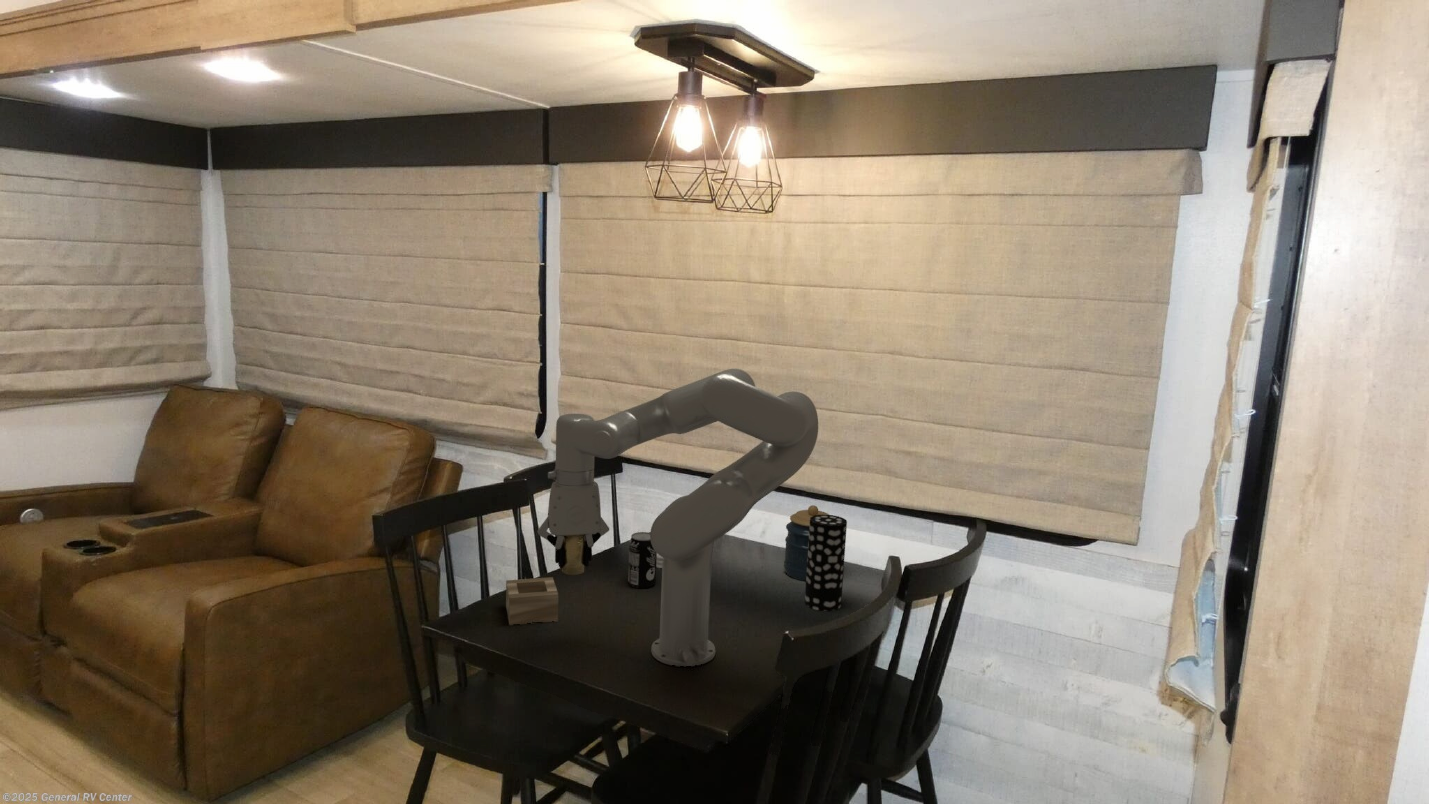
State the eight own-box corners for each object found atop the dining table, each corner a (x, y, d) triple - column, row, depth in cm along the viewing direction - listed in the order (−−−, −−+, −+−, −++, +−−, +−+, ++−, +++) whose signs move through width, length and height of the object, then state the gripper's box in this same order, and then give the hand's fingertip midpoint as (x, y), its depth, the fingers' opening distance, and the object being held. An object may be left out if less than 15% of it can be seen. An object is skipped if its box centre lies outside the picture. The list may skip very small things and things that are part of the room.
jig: (557, 621, 179) (558, 594, 178) (509, 625, 176) (509, 598, 175) (552, 602, 188) (552, 577, 187) (506, 606, 185) (506, 580, 184)
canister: (834, 566, 219) (838, 500, 216) (835, 584, 207) (840, 514, 204) (784, 562, 221) (787, 496, 218) (782, 580, 208) (786, 511, 205)
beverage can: (657, 580, 204) (659, 532, 202) (653, 590, 198) (654, 541, 196) (631, 578, 205) (632, 530, 203) (625, 588, 198) (626, 539, 197)
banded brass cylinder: (585, 574, 168) (586, 535, 167) (563, 575, 167) (564, 536, 166) (582, 566, 173) (583, 528, 171) (560, 567, 171) (561, 529, 170)
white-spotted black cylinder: (813, 594, 200) (819, 512, 197) (846, 602, 196) (852, 519, 192) (798, 605, 193) (803, 520, 190) (832, 614, 189) (838, 527, 185)
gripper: (533, 483, 161) (532, 574, 164) (620, 480, 166) (618, 568, 169) (529, 473, 168) (528, 561, 171) (613, 470, 173) (611, 556, 176)
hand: (573, 564), depth 170 cm, fingers closed on banded brass cylinder, 4 cm apart
